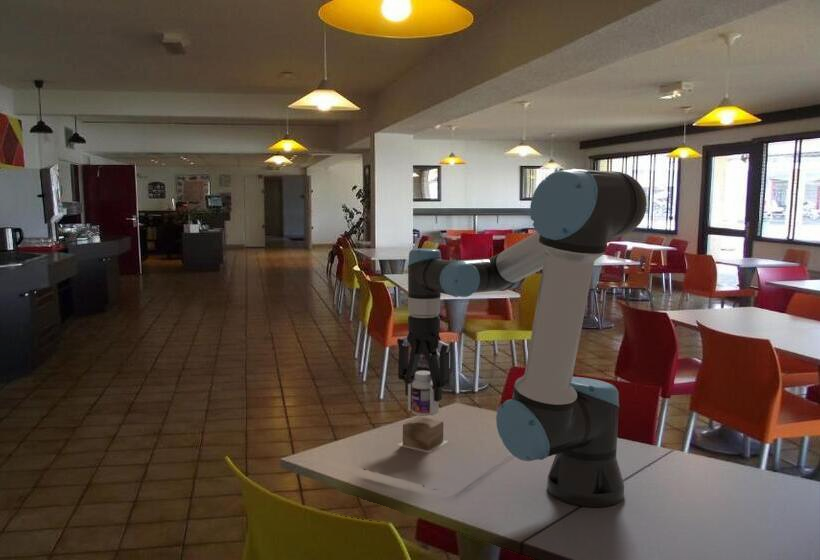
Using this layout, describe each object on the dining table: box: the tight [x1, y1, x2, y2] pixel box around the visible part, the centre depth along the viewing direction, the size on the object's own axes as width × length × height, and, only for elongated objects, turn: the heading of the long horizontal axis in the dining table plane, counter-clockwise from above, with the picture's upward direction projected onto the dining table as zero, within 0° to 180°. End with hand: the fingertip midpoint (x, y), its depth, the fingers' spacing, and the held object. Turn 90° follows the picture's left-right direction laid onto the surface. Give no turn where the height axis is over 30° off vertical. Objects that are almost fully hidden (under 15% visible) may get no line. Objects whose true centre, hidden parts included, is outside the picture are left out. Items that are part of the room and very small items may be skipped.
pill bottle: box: [411, 370, 433, 417], centre depth 158 cm, size 5×5×10 cm
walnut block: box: [402, 415, 444, 451], centre depth 159 cm, size 7×7×5 cm
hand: (423, 411), depth 159 cm, fingers closed on pill bottle, 5 cm apart
